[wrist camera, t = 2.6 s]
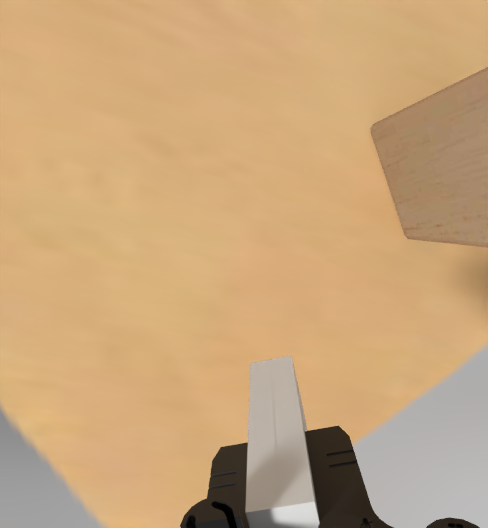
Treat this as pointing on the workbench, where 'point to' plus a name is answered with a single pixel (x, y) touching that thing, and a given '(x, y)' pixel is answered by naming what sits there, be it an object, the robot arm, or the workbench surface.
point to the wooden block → (440, 163)
